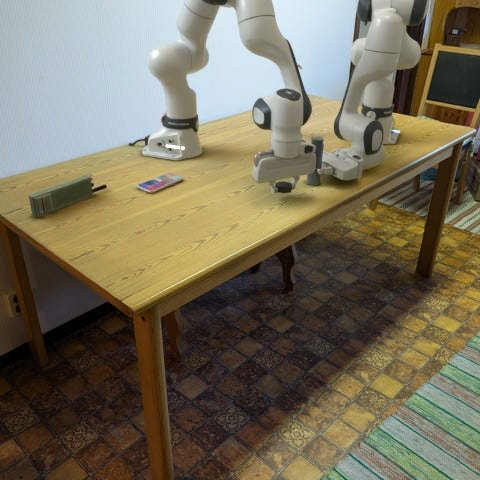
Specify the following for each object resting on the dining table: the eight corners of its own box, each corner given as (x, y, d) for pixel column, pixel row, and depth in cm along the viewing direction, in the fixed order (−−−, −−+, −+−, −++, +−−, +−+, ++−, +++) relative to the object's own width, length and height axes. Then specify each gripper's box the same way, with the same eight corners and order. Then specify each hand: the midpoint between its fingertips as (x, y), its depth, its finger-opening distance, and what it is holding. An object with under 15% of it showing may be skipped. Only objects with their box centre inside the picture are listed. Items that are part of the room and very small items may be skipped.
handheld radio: (30, 215, 144) (102, 188, 161) (37, 219, 142) (109, 191, 159) (26, 193, 140) (100, 168, 157) (33, 197, 138) (107, 171, 155)
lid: (271, 190, 154) (271, 184, 154) (281, 185, 158) (282, 179, 157) (284, 194, 151) (285, 188, 151) (295, 190, 155) (295, 184, 154)
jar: (315, 179, 169) (320, 135, 162) (321, 184, 166) (327, 139, 158) (304, 181, 168) (308, 136, 161) (310, 186, 164) (314, 140, 157)
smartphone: (184, 177, 167) (150, 191, 157) (184, 180, 167) (151, 194, 157) (168, 171, 171) (134, 185, 161) (168, 174, 171) (135, 188, 161)
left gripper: (259, 156, 141) (258, 201, 148) (320, 145, 149) (316, 188, 156) (249, 149, 146) (248, 193, 153) (308, 139, 154) (305, 181, 161)
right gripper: (325, 143, 176) (293, 150, 170) (367, 161, 161) (334, 169, 155) (323, 160, 180) (292, 167, 173) (364, 179, 164) (331, 188, 158)
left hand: (283, 190), depth 155 cm, fingers closed on lid, 5 cm apart
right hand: (312, 168), depth 164 cm, fingers closed on jar, 4 cm apart
